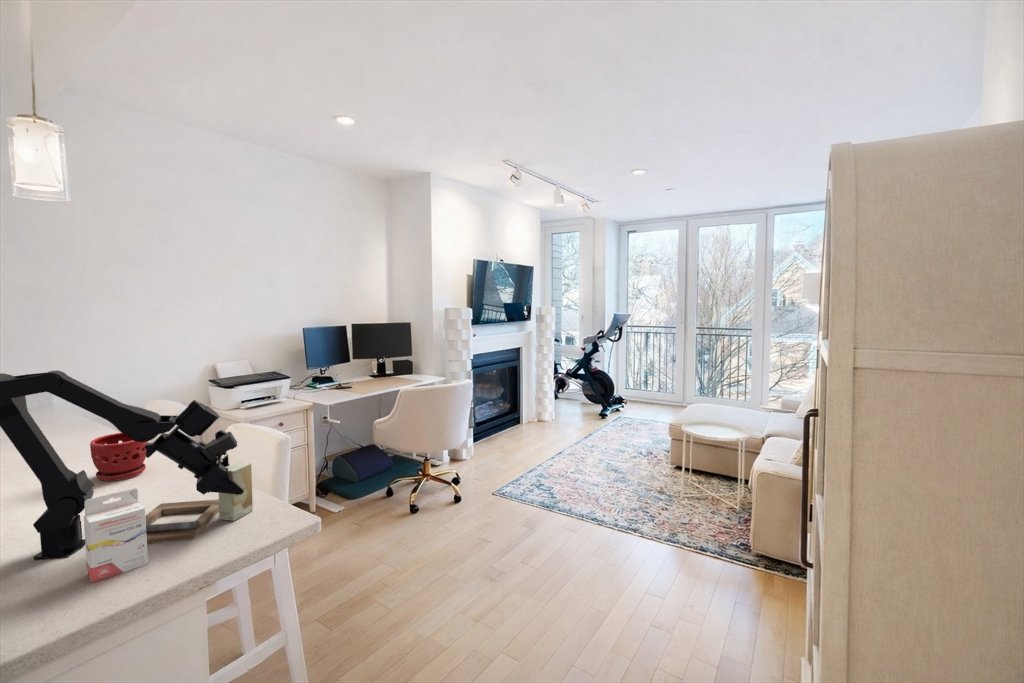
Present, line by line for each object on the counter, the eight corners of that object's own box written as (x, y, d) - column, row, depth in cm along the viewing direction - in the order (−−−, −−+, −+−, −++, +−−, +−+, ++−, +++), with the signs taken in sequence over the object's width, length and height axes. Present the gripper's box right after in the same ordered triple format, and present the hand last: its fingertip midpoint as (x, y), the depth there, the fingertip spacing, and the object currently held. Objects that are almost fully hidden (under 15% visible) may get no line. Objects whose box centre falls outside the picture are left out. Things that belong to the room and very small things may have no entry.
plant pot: (81, 482, 134) (77, 441, 133) (128, 466, 147) (125, 429, 146) (115, 486, 131) (112, 445, 130) (160, 470, 144) (158, 432, 143)
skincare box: (234, 521, 109) (231, 471, 108) (218, 520, 110) (216, 470, 109) (254, 509, 116) (252, 462, 115) (239, 508, 116) (237, 461, 115)
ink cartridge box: (91, 584, 85) (85, 507, 84) (86, 574, 88) (81, 500, 87) (149, 564, 92) (144, 492, 90) (142, 555, 95) (138, 486, 93)
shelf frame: (192, 539, 101) (191, 526, 101) (114, 545, 98) (113, 533, 98) (226, 504, 119) (226, 493, 119) (161, 509, 116) (160, 498, 116)
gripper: (211, 433, 101) (270, 472, 108) (214, 415, 117) (265, 450, 124) (169, 475, 98) (232, 512, 104) (177, 451, 113) (232, 485, 120)
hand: (242, 487), depth 113 cm, fingers closed on skincare box, 7 cm apart
